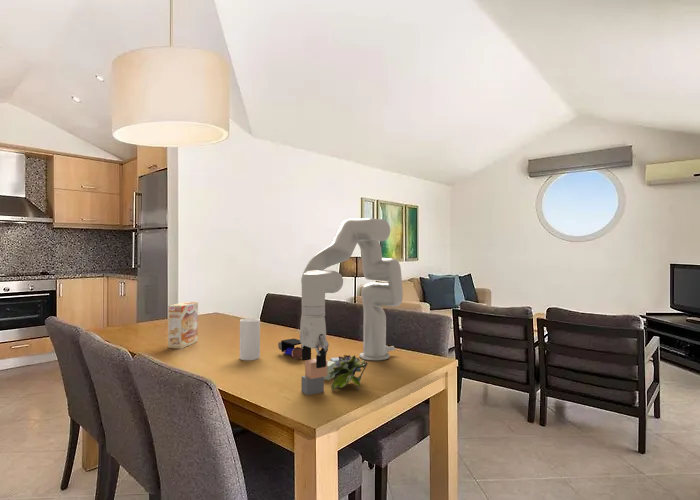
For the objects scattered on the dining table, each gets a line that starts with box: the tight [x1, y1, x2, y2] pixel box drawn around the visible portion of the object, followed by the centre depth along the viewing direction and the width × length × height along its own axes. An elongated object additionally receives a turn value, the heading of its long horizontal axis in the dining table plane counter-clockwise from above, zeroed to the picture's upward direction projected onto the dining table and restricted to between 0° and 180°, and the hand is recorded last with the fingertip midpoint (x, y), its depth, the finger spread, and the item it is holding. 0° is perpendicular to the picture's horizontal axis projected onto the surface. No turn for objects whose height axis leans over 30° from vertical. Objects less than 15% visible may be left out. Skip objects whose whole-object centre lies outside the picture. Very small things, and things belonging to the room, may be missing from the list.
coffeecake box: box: [167, 301, 199, 349], centre depth 201 cm, size 15×7×20 cm, turn 171°
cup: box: [239, 317, 261, 361], centre depth 178 cm, size 8×8×16 cm
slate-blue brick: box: [329, 356, 342, 364], centre depth 159 cm, size 6×4×5 cm, turn 104°
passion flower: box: [329, 354, 369, 391], centre depth 142 cm, size 13×12×14 cm
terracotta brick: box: [304, 358, 328, 379], centre depth 138 cm, size 6×4×5 cm, turn 124°
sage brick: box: [324, 360, 336, 381], centre depth 153 cm, size 6×4×5 cm, turn 159°
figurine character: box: [277, 338, 303, 360], centre depth 181 cm, size 7×8×15 cm
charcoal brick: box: [300, 375, 325, 396], centre depth 137 cm, size 6×4×5 cm, turn 123°
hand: (313, 363), depth 137 cm, fingers open, 9 cm apart
